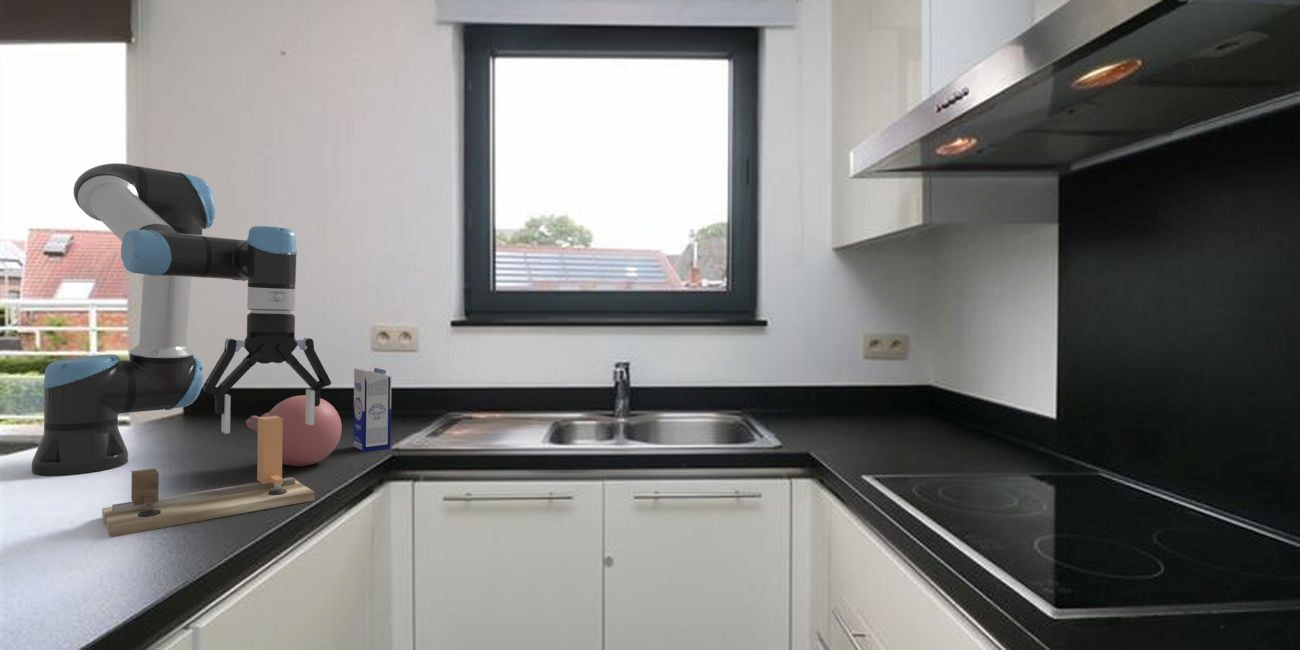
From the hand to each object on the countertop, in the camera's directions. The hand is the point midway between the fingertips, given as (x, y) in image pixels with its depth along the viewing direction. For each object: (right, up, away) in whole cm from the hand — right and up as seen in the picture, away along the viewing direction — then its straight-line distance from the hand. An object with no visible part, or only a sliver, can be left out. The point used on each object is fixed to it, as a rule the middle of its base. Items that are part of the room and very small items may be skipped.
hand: (269, 428), depth 116 cm
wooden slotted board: (-4, -12, -8) cm, 15 cm away
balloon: (-9, -12, +23) cm, 27 cm away
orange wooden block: (+1, -10, -1) cm, 10 cm away
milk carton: (0, -12, +42) cm, 44 cm away
